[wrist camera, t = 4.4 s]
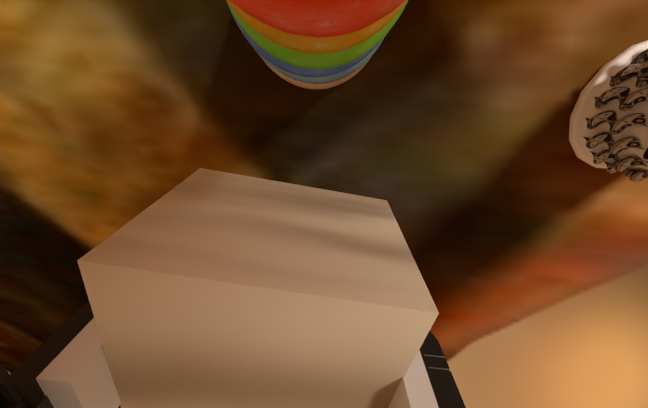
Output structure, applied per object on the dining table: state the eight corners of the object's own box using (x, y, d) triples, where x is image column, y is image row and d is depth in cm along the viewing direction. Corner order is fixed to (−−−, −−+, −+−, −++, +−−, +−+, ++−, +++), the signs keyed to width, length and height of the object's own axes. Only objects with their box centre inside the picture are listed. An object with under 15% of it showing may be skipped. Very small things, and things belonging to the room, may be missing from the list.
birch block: (200, 167, 11) (77, 260, 6) (386, 200, 11) (439, 312, 6) (204, 304, 14) (131, 441, 9) (346, 324, 15) (356, 464, 10)
